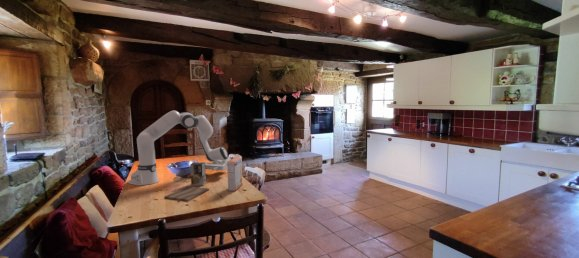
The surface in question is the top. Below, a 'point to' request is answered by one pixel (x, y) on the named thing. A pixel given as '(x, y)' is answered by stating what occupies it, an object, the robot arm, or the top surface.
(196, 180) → the coffee box
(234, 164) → the cracker box
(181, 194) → the walnut board
